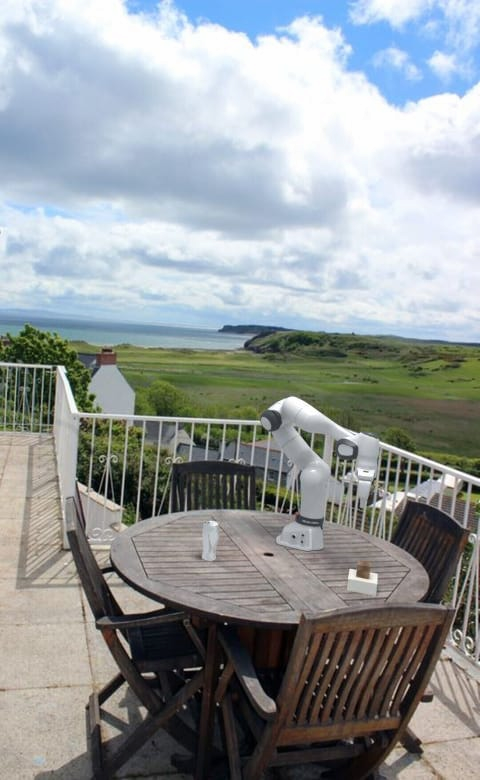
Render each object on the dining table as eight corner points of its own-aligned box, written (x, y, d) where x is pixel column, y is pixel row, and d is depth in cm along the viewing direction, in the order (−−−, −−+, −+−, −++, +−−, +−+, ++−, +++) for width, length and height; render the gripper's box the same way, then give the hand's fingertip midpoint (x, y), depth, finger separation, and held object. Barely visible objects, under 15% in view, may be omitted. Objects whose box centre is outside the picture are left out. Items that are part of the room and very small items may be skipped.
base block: (346, 591, 217) (348, 578, 217) (348, 580, 228) (349, 568, 228) (375, 596, 215) (377, 584, 215) (376, 585, 226) (377, 573, 225)
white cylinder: (219, 557, 239) (222, 523, 238) (212, 562, 233) (215, 527, 232) (205, 554, 242) (208, 519, 241) (197, 558, 236) (200, 523, 235)
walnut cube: (355, 576, 220) (357, 564, 219) (356, 572, 224) (358, 560, 224) (369, 579, 218) (370, 566, 218) (369, 574, 223) (370, 562, 223)
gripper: (358, 466, 244) (355, 497, 245) (357, 475, 224) (353, 509, 225) (373, 468, 242) (369, 500, 243) (373, 477, 222) (369, 512, 223)
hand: (362, 504), depth 234 cm, fingers open, 8 cm apart
